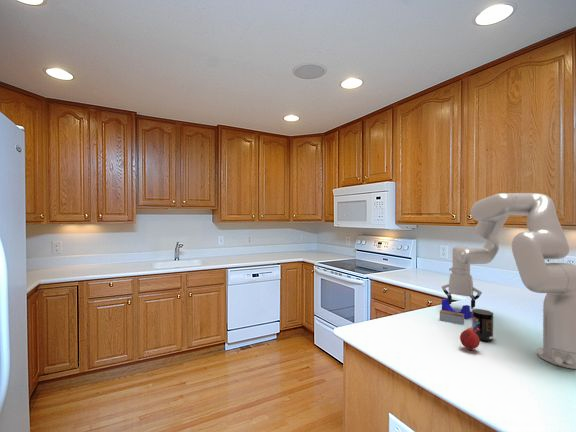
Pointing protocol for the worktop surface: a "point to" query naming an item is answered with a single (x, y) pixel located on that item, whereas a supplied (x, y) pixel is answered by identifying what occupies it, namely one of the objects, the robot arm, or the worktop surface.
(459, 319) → the end stop block
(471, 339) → the onion
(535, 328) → the worktop surface
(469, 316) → the cable clip
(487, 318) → the supplement container
